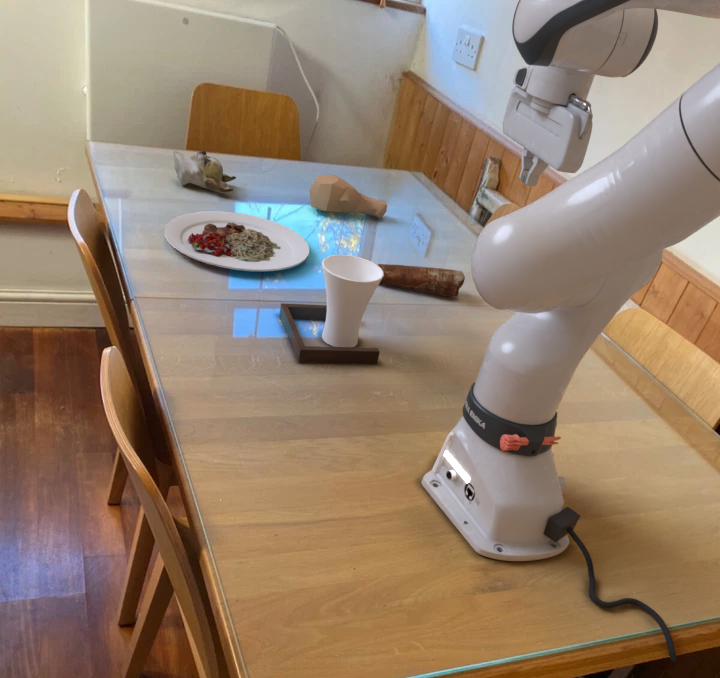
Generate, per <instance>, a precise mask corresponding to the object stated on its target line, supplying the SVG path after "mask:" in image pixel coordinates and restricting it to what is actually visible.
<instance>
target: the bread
mask: <svg viewBox="0 0 720 678" xmlns="http://www.w3.org/2000/svg"><path fill="white" fill-rule="evenodd" d="M377 265H378V266H379V267H380V268H381V269H382V271H383V272H384V276H383V278H382V280H381V281H380V283H379V284H382V285H388V286H393V287H397V288H401V289H406V290H414V291H418V292H424V293H430V294H433V295H439V296H443V297H458V295H459V292H460V289H461V288H462V286H463V285H464V283H465V280H466V279H465V278H466V277H465V274H464V272H463V271H462V270H457V269H448V268H442V267H440V268H439V267H429V266H428V267H427V266H420V265H419V266H417V265H405V264H404V265H403V264H388V263H387V264H386V263H378V264H377Z"/></svg>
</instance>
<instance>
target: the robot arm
mask: <svg viewBox="0 0 720 678" xmlns="http://www.w3.org/2000/svg"><path fill="white" fill-rule="evenodd" d="M657 10H661V11H667V12H668V11H669V12H674V13H678V14H679V13H681V14H685V15H689V16H696V17H702V18H708V19H716V20H720V0H518V2H517V4H516V6H515V10H514V13H513V18H512V26H511V28H512V29H511V31H512V33H511V34H512V38H513V42H514V44H515V46H516V49H517V51H518V53H519V55H520V56H521V58H522V60H523V61H524V63H525V64H526V66H521V67H517V68H516V69H515V71H514V75H513V78H512V83H513V84H514V85H515V86H513V88H512V89H511V91H510V94H509V97H508V100H507V104H506V107H505V111H504V115H503V118H502V119H503V121H502V133H503V134H504V135H505V136H507V137H508V138H509V139H510V140H512V141H514V142H515V143H517V144H518V145H520V147H522V148H523V149H522V152H521V170H520V172H519V175H518V179H519V180H520V181H521V182H522V183H524V184H525V185H526V186H527V187H532V188H533V187H534V188H535V187H537V185H538V182H539V179H540V176H542V174H543V173H544V172H545V171H546V169H547V168H548V167H551V168H552V169H554V170H555V171H556V172H561V173H566V174H576V173H577V172H578V171H579V170H580V169H581V168H582V166H583V164H584V160H585V157H586V154H587V150H588V147H589V144H590V140H591V137H592V131H593V118H594V117H593V116H594V115H593V111H592V104H591V102H590V101H588V100H587V99H588V96H589V93H590V90H591V87H592V85H593V82H594V79H595V76H600V77H606V78H626V77H627V76H629V75H631V74H633V73H634V72H635V71H637V69H639V68H640V67H641V66H642V65H643V64H644V62H645V61H646V60H647V58H648V57H649V55H650V53H651V52H652V49H653V47H654V45H655V42H656V38H657V35H658V30H659V15H658V11H657ZM718 217H719V218H720V62H719V63H717V64H716V65H714V67H713V68H711V69H710V70H708V71H707V72H706V73H705V74H704V75H702V76H701V77H700V78H699V79H697V81H696V82H694V83H693V84H692V85H690V86H689V87H688V88H687V89H686V90H685V91H684V92H683V93H681V94H680V95H679V96H678V97H677V98H676V99H674V100H673V101H672V102H671V103H670V104H669V105H667V107H665V108H664V109H663V110H662V111H661V112H660V113H659V114H657V115H656V116H655V117H654V118H653V119H652V120H651V121H650V122H648V123H647V124H646V125H645V126H643V128H642V129H640V130H639V131H637V132H636V134H634V135H633V136H631V138H630V139H628V140H627V141H626V142H625V143H623V144H622V145H621V146H620V147H619V148H617V149H616V150H614V151H613V152H612V153H610V154H609V155H607V156H606V157H604V158H603V159H602V160H600V161H598V162H597V163H595V164H593V165H592V166H590V167H588V168H587V169H585V170H583V171H581V172H580V173H578V174H577V175H575V176H573V177H572V178H570V179H568V180H567V181H565V182H564V183H562V184H560V185H558V186H557V187H556V188H554V189H553V190H551V191H549V192H547V193H546V194H544V195H543V196H541V197H539V198H537V199H536V200H534V201H533V202H531V203H529V204H527V205H526V206H525V205H524V206H523V207H521V208H519V209H516V210H515V211H512V212H510V213H508V214H505V215H503V216H501V217H498V218H495V219H493V220H492V221H490V222H489V223H488V224H487V225H485V226H484V228H483V229H482V230H481V232H480V233H479V235H478V236H477V238H476V241H475V243H474V246H473V249H472V250H473V251H472V253H471V262H470V263H471V264H470V266H471V276H472V280H473V284H474V286H475V289H476V291H477V293H478V294H479V296H480V297H481V299H482V300H483V302H485V303H486V304H487V305H488V306H490V307H492V308H494V309H496V310H501V311H506V312H512V313H514V314H513V315H511V317H509V318H508V319H507V320H505V321H504V322H503V323H501V324H500V326H498V328H497V329H496V330H495V331H494V332H493V334H492V335H491V337H490V339H489V342H488V345H487V348H486V351H485V354H484V356H483V360H482V362H481V365H480V368H479V371H478V373H477V377H476V380H475V381H474V382H473V383H472V384H471V386H470V388H469V390H468V392H467V393H466V396H465V399H464V404H463V406H462V416H461V417H460V419H459V420H458V422H457V423H456V424H455V426H454V427H453V428H452V429H451V430H450V431H449V433H448V434H447V436H446V438H445V440H444V442H443V445H442V447H441V449H440V451H439V453H438V456H437V457H436V459H435V462H434V464H433V467H432V468H431V469H430V470H429V471H428V472H426V473H425V474H424V475H423V477H422V479H421V481H420V482H421V485H422V487H423V488H424V489H425V491H426V492H427V493H428V494H429V496H430V497H431V499H432V500H433V501H434V502H435V503H436V504H437V506H438V507H439V509H441V511H442V512H443V513H444V514H445V515H446V517H447V518H448V520H449V521H450V522H451V523H452V524H453V526H454V527H455V528H456V530H458V532H459V533H460V534H461V536H462V537H463V538H464V539H465V540H466V542H467V543H468V544H469V545H470V547H471V548H472V549H473V550H474V551H475V552H476V553H477V554H478V555H479V556H483V557H485V558H488V559H494V560H497V561H498V560H499V561H503V562H505V561H506V562H528V561H529V562H530V561H538V560H544V559H549V558H552V557H555V556H558V555H560V554H561V553H563V552H564V551H566V549H568V547H569V545H570V538H569V536H570V537H571V539H572V540H573V542H575V544H576V545H577V546H578V548H579V549H580V551H581V553H582V555H583V557H584V559H585V562H586V567H587V573H588V574H587V575H588V578H589V587H588V595H589V599H590V600H591V601H592V602H593V603H594V604H596V605H597V606H599V607H602V608H605V609H612V608H617V607H622V606H624V605H633V606H636V607H638V608H640V609H641V610H643V611H644V612H646V613H647V614H648V615H650V616H651V617H652V618H653V619H654V620H655V621H656V623H657V624H658V626H659V628H660V630H661V632H662V634H663V636H664V640H665V643H666V646H667V650H668V654H669V659H671V661H672V662H673V663H677V662H678V657H677V652H676V648H675V645H674V642H673V641H674V640H673V638H672V635H671V632H670V630H669V628H668V626H667V624H666V622H665V620H664V619H663V618H662V617H661V616H660V614H658V613H657V612H656V611H655V610H654V609H653V608H652V607H650V606H649V605H647V604H646V603H644V602H643V601H640V600H638V599H636V598H632V597H626V598H621V599H617V600H614V601H604V600H601V599H600V598H599V597H598V596H597V595H596V587H597V583H596V576H595V571H594V563H593V559H592V557H591V555H590V554H591V553H590V552H589V550H588V549H587V547H586V545H585V544H584V542H583V541H582V540H581V538H580V537H579V536H578V535H577V533H576V532H575V531H574V529H575V527H576V525H577V523H578V521H579V520H580V518H581V515H580V514H579V513H578V512H576V511H575V510H574V509H572V508H571V507H570V506H566V507H564V504H565V500H564V496H563V492H564V491H565V490H566V485H567V481H566V478H565V477H564V476H562V475H559V474H558V470H557V466H556V461H555V458H554V457H555V455H554V452H553V448H552V447H553V446H555V445H559V442H557V441H559V440H561V439H562V437H561V436H556V435H555V434H556V430H557V426H558V425H557V424H558V422H557V421H558V409H559V407H560V404H561V402H562V400H563V398H564V397H565V396H564V395H565V394H566V392H567V389H568V387H569V385H570V383H571V380H572V379H573V376H574V374H575V372H576V370H577V368H578V367H579V365H580V363H581V361H582V360H583V358H585V356H586V354H587V352H588V351H589V350H590V348H591V347H592V346H593V344H594V343H595V342H596V341H597V340H598V338H599V337H600V335H601V334H602V333H603V331H604V330H605V329H606V328H607V326H608V325H609V323H610V322H611V321H612V320H613V319H614V317H615V316H616V315H617V314H618V312H619V311H620V310H621V309H622V308H623V306H624V305H625V304H626V303H627V302H628V301H629V300H631V298H632V297H633V296H634V295H636V294H637V293H639V292H640V291H641V290H642V289H644V288H645V287H646V286H647V285H648V284H649V283H651V282H652V280H653V279H654V278H655V276H656V275H657V273H658V271H659V269H660V266H661V263H662V259H663V253H664V252H663V251H664V249H667V248H671V247H673V246H675V245H677V244H679V243H681V242H683V241H684V240H686V239H688V238H689V237H690V236H692V235H693V234H695V233H697V232H698V231H699V230H701V229H703V228H704V227H706V226H707V225H708V224H710V223H711V222H713V221H714V220H717V218H718ZM568 535H569V536H568Z"/></svg>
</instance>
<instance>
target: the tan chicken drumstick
mask: <svg viewBox="0 0 720 678" xmlns="http://www.w3.org/2000/svg"><path fill="white" fill-rule="evenodd" d="M309 200H310V206H311V207H312V208H314V209H316V208H317V209H316V210H318V211H319V212H322V213H326V214H332V215H342V216H347V215H352V214H359V215H360V214H361V215H368V216H372V217H375V218H377V219H380V218H381V219H382V218H384V216H385V214H386V213H387V210H388V204H387V203H386V202H385V201H383V200H380V199H376V198H373V197H369V196H368V195H365V194H362V193H361V192H359V191H358V190H357V189H356V188H355V187H354V186H353V185H352V184H351V183H349V182H348V181H346V180H345V179H343V178H341V177H340V176H338V175H336V174H321V175H317V176H316V177H315V178H314V180H313V182H312V184H311V185H310V187H309Z"/></svg>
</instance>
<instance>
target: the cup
mask: <svg viewBox="0 0 720 678" xmlns="http://www.w3.org/2000/svg"><path fill="white" fill-rule="evenodd" d="M321 266H322V274H323V279H324V287H325V295H326V305H327V313H326V321H324V326H323V330H322V333H321V339H322V340H323V342H324V343H326V344H327V345H329V346H330V347H356V346H357V345H358V344H359V343H358V341H359V333H360V327H361V323H362V320H363V317H364V314H365V311H366V310H367V307H368V305H369V303H370V301H371V299H372V297H373V296H374V293H375V292H376V290H377V288H378V286H379V285H380V284H381V283H380V281H381V280H382V278H383V276H384V272H383V271H382V269H381V268H380V267H379V266H378V264H376V263H374V262H373V261H371V260H369V259H366V258H364V257H360V256H355V255H351V254H334V255H333V254H331V255H329V256H326V257H325V258H324V259H323V260H322V261H321Z"/></svg>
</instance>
